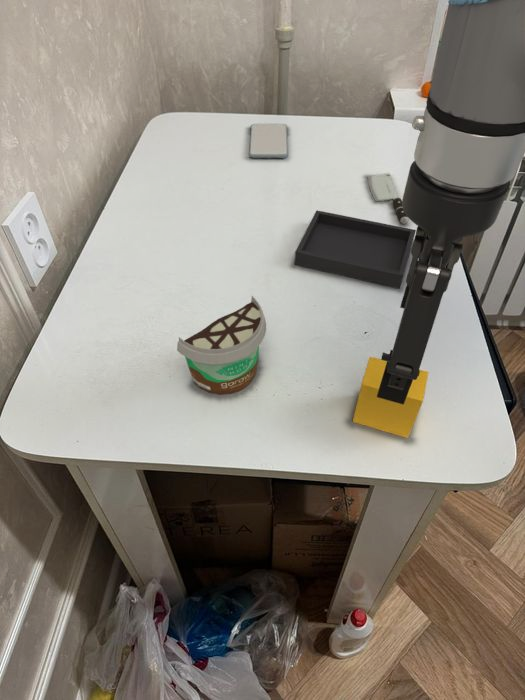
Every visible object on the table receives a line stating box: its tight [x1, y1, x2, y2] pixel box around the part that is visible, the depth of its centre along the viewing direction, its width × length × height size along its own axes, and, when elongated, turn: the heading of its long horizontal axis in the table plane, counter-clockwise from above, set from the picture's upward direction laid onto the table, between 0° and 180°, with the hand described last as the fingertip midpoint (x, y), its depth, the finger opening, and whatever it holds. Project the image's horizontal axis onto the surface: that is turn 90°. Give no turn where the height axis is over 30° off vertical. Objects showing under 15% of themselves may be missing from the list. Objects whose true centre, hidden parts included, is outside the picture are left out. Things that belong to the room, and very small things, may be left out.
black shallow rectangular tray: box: [294, 210, 417, 290], centre depth 84 cm, size 18×13×3 cm
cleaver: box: [367, 172, 410, 225], centre depth 96 cm, size 17×1×5 cm
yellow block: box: [352, 356, 429, 439], centre depth 61 cm, size 7×4×8 cm, turn 70°
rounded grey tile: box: [248, 123, 289, 159], centre depth 111 cm, size 8×1×15 cm
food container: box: [176, 295, 267, 396], centre depth 64 cm, size 12×6×10 cm, turn 129°
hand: (402, 349), depth 54 cm, fingers open, 13 cm apart
